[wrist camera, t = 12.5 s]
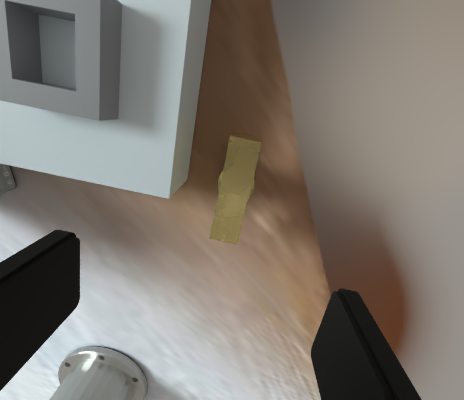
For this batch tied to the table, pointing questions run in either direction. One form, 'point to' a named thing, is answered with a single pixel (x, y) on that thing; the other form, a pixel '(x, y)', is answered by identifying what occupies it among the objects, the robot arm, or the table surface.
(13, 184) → the skincare box
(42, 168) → the box
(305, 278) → the table surface
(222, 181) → the t key
